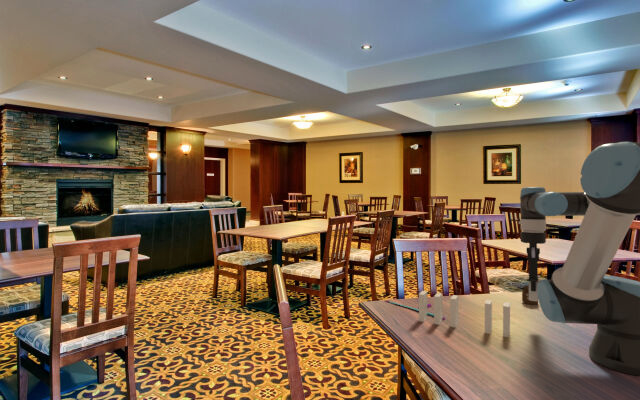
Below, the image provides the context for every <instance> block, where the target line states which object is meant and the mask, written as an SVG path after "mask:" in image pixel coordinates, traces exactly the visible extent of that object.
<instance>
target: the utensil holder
mask: <svg viewBox="0 0 640 400" xmlns="http://www.w3.org/2000/svg"><path fill="white" fill-rule="evenodd" d="M538 276H540V275H538ZM523 279H525V280H523V282H522V283H523V286H522V288H523V289H522V291H521V293H522V294H521V301H522V303H523V304H524V305H525V304H526V305H530V306H531V305H532V306H533V305H534V306H537V305H539V300H538V301H530V300H529V281H527V279H528V278H527V276H525V277H523ZM525 283H527V284H525Z"/></svg>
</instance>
